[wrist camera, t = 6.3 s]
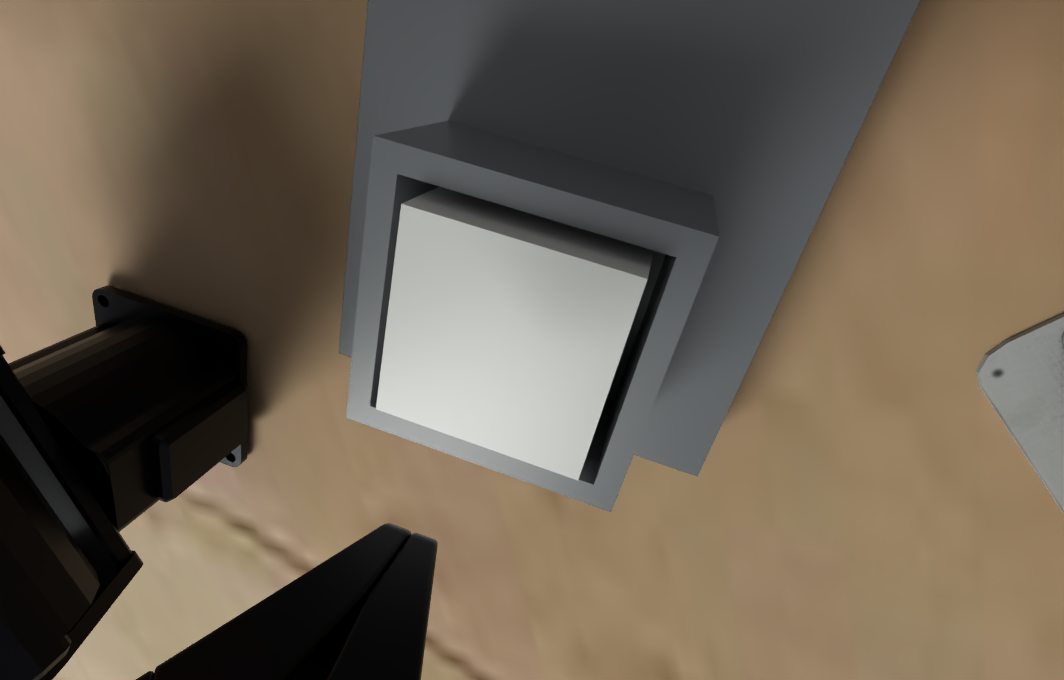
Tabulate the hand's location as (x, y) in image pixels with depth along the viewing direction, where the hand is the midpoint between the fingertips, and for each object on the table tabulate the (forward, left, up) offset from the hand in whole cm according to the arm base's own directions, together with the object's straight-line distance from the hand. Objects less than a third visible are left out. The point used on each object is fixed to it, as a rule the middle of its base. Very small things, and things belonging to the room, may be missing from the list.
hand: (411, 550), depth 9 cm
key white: (0, +1, -8) cm, 8 cm away
